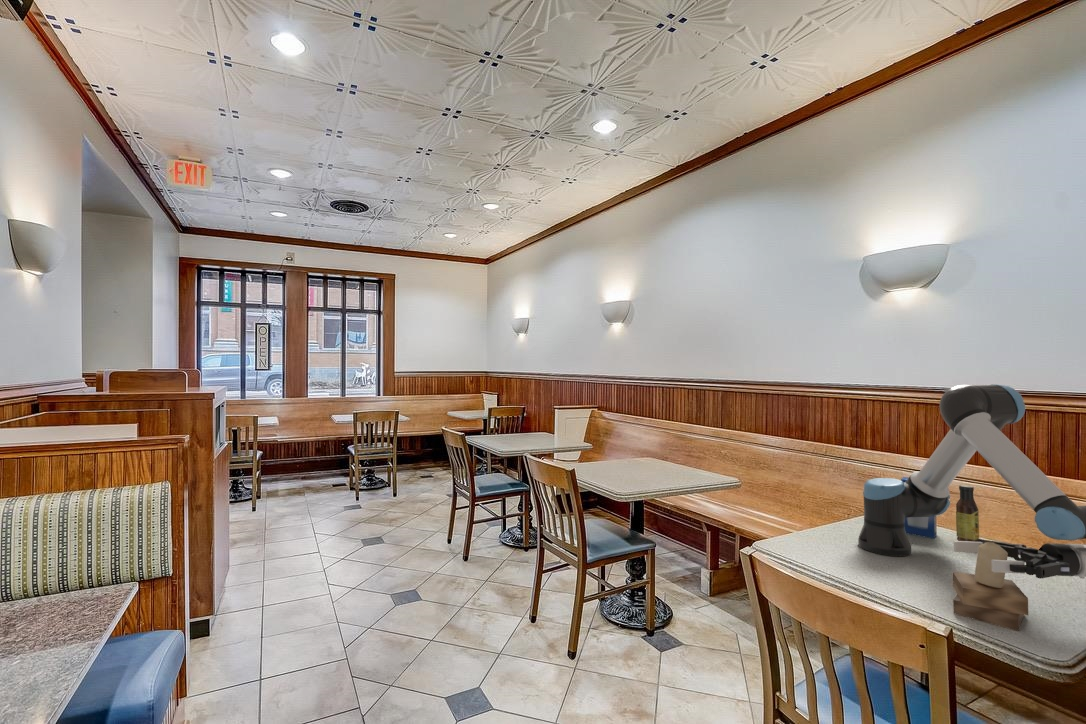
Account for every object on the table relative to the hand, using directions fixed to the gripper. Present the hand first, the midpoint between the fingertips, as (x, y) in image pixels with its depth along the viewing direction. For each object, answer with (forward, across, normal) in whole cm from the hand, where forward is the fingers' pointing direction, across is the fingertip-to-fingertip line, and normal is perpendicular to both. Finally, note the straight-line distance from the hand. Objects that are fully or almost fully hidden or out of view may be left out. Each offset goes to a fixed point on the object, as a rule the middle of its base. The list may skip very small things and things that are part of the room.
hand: (972, 555), depth 128 cm
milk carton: (-24, +67, -15) cm, 73 cm away
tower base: (-4, 0, -15) cm, 16 cm away
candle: (-4, 0, -7) cm, 8 cm away
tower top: (-4, +1, -11) cm, 12 cm away
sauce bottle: (-36, +59, -15) cm, 70 cm away
